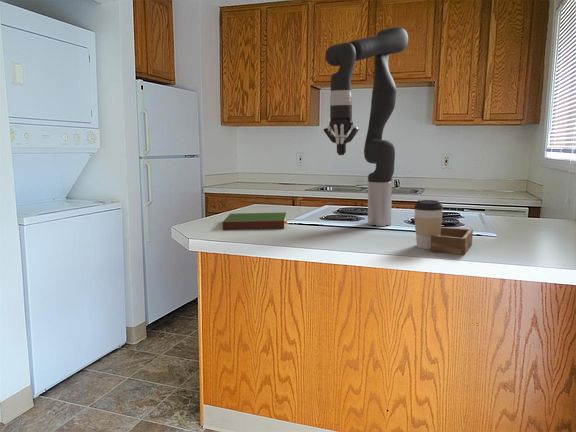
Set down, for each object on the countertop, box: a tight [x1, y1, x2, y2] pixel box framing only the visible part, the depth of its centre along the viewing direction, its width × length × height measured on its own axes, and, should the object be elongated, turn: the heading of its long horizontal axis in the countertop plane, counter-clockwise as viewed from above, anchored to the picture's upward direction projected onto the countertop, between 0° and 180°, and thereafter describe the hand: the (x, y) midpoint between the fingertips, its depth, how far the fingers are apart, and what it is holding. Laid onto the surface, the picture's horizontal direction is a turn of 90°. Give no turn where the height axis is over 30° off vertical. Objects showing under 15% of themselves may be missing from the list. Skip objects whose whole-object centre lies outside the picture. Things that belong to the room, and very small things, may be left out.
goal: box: [430, 226, 474, 256], centre depth 148 cm, size 14×10×5 cm
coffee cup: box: [413, 199, 444, 250], centre depth 150 cm, size 9×9×15 cm
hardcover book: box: [222, 211, 287, 231], centre depth 194 cm, size 25×19×4 cm
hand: (341, 154), depth 165 cm, fingers closed
